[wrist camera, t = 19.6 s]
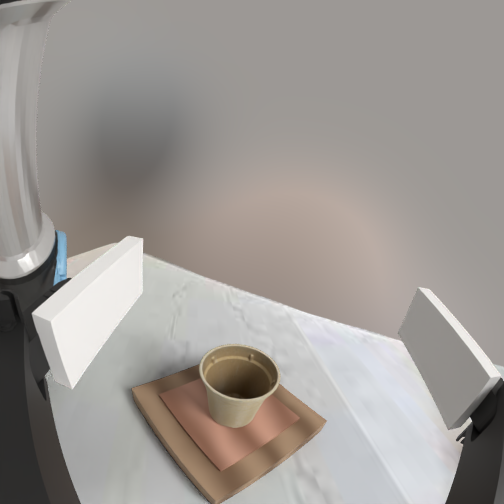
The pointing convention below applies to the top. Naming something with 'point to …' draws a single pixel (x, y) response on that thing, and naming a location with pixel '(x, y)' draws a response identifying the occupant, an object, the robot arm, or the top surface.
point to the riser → (223, 433)
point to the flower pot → (237, 382)
